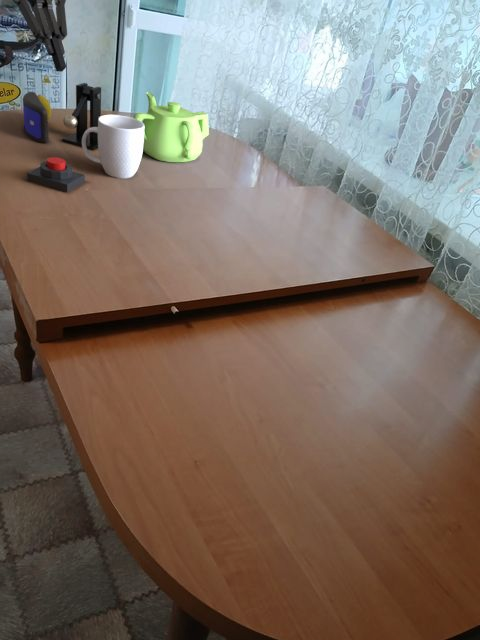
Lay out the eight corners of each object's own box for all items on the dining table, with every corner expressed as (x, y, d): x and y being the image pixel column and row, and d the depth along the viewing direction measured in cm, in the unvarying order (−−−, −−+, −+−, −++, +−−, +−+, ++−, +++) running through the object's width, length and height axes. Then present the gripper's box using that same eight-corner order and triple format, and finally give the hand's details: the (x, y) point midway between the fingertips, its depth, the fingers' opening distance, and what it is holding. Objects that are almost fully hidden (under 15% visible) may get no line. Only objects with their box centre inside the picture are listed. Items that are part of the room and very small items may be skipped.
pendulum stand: (92, 151, 149) (93, 94, 140) (62, 143, 149) (61, 85, 141) (113, 141, 158) (114, 87, 150) (84, 133, 159) (84, 78, 150)
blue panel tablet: (20, 124, 154) (17, 89, 149) (37, 125, 156) (35, 90, 151) (31, 145, 144) (28, 107, 138) (49, 145, 146) (47, 108, 140)
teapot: (193, 172, 151) (199, 118, 143) (123, 155, 151) (125, 100, 142) (207, 153, 166) (213, 103, 158) (143, 137, 166) (146, 87, 158)
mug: (77, 175, 134) (76, 120, 126) (86, 160, 143) (86, 108, 135) (138, 185, 136) (141, 132, 129) (144, 170, 145) (147, 119, 137)
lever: (75, 133, 142) (71, 123, 139) (63, 129, 143) (59, 119, 140) (98, 96, 148) (95, 86, 145) (86, 93, 148) (83, 82, 145)
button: (43, 168, 125) (43, 160, 124) (53, 163, 128) (52, 155, 127) (59, 172, 124) (59, 165, 123) (68, 167, 128) (68, 160, 126)
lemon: (48, 128, 157) (47, 98, 152) (28, 124, 156) (26, 94, 151) (53, 122, 161) (52, 94, 156) (34, 119, 160) (32, 90, 156)
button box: (27, 182, 125) (26, 165, 123) (46, 172, 132) (46, 156, 129) (67, 193, 125) (67, 177, 122) (84, 183, 131) (84, 167, 129)
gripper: (48, -25, 133) (79, 75, 137) (-6, -32, 125) (29, 75, 129) (60, -42, 128) (92, 63, 132) (5, -51, 119) (41, 61, 123)
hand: (61, 69), depth 130 cm, fingers closed
